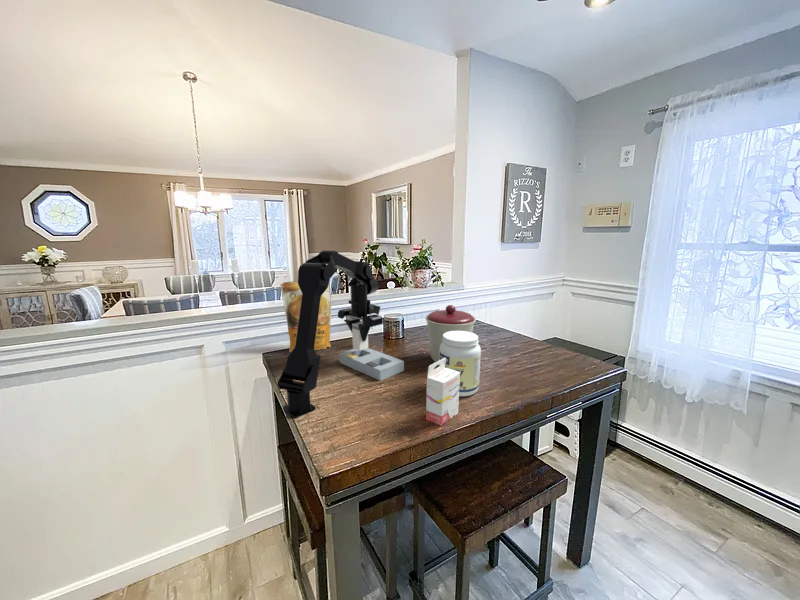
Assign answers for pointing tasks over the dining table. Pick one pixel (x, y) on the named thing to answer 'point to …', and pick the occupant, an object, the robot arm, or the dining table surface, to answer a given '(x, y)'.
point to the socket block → (372, 363)
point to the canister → (446, 326)
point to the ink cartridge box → (442, 393)
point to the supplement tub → (462, 358)
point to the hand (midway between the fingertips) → (360, 339)
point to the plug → (358, 338)
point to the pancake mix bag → (292, 312)
